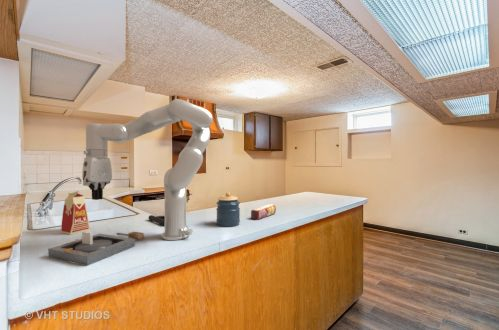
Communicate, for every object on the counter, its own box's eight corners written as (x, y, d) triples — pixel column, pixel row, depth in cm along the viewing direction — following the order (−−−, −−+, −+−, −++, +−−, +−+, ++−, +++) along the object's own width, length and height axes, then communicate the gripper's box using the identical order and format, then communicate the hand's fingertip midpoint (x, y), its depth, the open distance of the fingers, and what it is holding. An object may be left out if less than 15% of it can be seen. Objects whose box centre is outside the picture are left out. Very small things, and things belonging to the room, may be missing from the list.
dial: (119, 245, 99) (119, 230, 98) (90, 255, 87) (90, 239, 87) (97, 241, 103) (97, 227, 103) (67, 251, 91) (67, 235, 91)
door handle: (171, 212, 156) (146, 215, 144) (188, 218, 141) (161, 221, 130) (171, 218, 155) (145, 220, 144) (188, 224, 141) (161, 227, 130)
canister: (225, 228, 128) (225, 194, 127) (211, 223, 138) (211, 192, 137) (244, 224, 136) (244, 192, 136) (230, 220, 146) (230, 190, 146)
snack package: (259, 220, 145) (259, 209, 145) (249, 219, 149) (249, 208, 149) (276, 214, 163) (276, 204, 163) (267, 213, 167) (267, 203, 166)
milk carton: (90, 230, 124) (90, 190, 124) (70, 235, 116) (70, 192, 116) (79, 227, 128) (79, 189, 128) (59, 232, 120) (58, 191, 119)
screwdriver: (143, 239, 111) (143, 232, 111) (138, 241, 108) (138, 234, 108) (120, 235, 115) (120, 229, 115) (114, 237, 113) (114, 231, 113)
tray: (134, 246, 101) (134, 237, 101) (87, 265, 82) (87, 255, 82) (99, 240, 108) (99, 232, 108) (48, 257, 89) (48, 247, 89)
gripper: (85, 153, 92) (85, 202, 93) (119, 154, 107) (120, 197, 107) (71, 153, 95) (71, 201, 95) (107, 154, 109) (107, 196, 109)
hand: (97, 199), depth 101 cm, fingers closed
